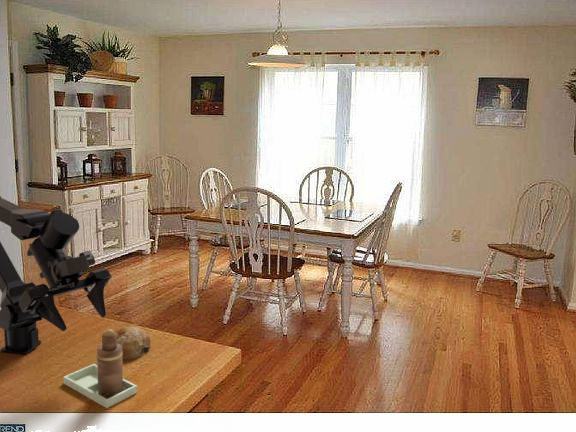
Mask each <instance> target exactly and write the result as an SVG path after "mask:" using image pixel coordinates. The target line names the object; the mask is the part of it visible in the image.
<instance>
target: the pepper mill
mask: <svg viewBox="0 0 576 432" xmlns="http://www.w3.org/2000/svg"><path fill="white" fill-rule="evenodd" d="M122 354H123V352H122V346H121V345H120V344H118V343H117V333H116V332H115V331H114V329H111V328H107V329H106V330H105V331H104V332H103V333H102V334H101V344H100V345H99V346H98V347H97V348H96V359H97V360H96V361H97V364H96V365H97V370H98V394H99V395H101V396H103V397H104V398H106V399H108V398H110V397H112V396H114V395H116V394H118V393H120V392H122V391H123V379H124V377H123V374H124V373H123V372H124V369H123V368H124V367H123V366H124V365H123V359H122Z"/></svg>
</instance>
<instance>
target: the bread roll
mask: <svg viewBox="0 0 576 432" xmlns="http://www.w3.org/2000/svg"><path fill="white" fill-rule="evenodd" d="M114 332H116V333H117V343H118V344H120V345H121V346H122V352H123V354H122V360H129V359H130V360H131V359H136V358H139V357H143V356H145V355H146V353H147V352H149V350H150V349H151V343H152V342H151V338H150V336H149V334H148V333H147V332H146V331H145V330H143V329H141V327H139V326H125V327H120V328H119V329H118V328H117V329H116V330H115V331H114Z"/></svg>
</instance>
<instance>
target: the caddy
mask: <svg viewBox="0 0 576 432" xmlns="http://www.w3.org/2000/svg"><path fill="white" fill-rule="evenodd" d="M63 384H64V385H65V386H68V387H69V388H70V389H73V390H74V391H76V392H78V393H79V394H82V395H83V396H85V397H87V398H88V399H90V400H91V401H94V402H95V403H97V404H98V405H101V406H102V407H104V408H106V409H109V408H110V407H112V406H114V405H116V404H118V403H120V402H121V401H125V400H126V399H127V398H130V397H132V396H133V395H135V394H138V385H136V384H134V383H133V382H131V381H129V380H127V379H126V378H123V391H122V392H120V393H118V394H116V395H114V396H112V397H110V398H108V399H106V398H104V397H103V396H101V395H99V394H98V370H97V364H96V363H92V364H90V365H87V366H85V367H83V368H80V369H78V370H77V371H73V372H72V373H69V374H66V375H65V376H63Z"/></svg>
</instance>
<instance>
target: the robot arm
mask: <svg viewBox="0 0 576 432" xmlns="http://www.w3.org/2000/svg"><path fill="white" fill-rule="evenodd" d="M0 222H1V223H3V224H5V225H7V226H9V227H10V233H12V234H13V236H15V237H16V238H17V239H18V240H20V241H27V240H32V239H33V241H32V243H31V242H30V243H29V244H28V249H27V251H26V253H27V257H34V260H35V262H36V263H37V266H38V267H39V270H40V271H41V272H40V273H39V277H40V279H45V281H46V283H47V284H48V285H47V284H46V283H41V284H37V285H36V284H35V283H34V282H32V281H31V282H28V283H26V282H24V281H23V279H21V276H20V274H19V272H18V270H17V269H16V267H15V266H14V263H13V262H12V260H11V258H10V257H9V254H8V253H7V251H6V249H5V247H4V246H3V244H2V242H1V241H0V291H1V299H0V328H1V329H2V330H3V333H4V334H3V335H4V336H3V337H4V346H3V347H1V348H0V352H3V353H4V352H5V353H11V354H12V353H13V354H21V355H26V354H29V353H30V352H31V351H32V350H34V349H35V348H36V347H38V346H39V345H41V344H42V340H39V328H38V327H37V322H40V321H43V319H44V320H45V321H48V322H49V323H50V324H52V325H53V326H55V327H56V328H58V329H59V330H61V331H62V332H65V331H66V330H67V325H66V323H65V320H64V319H63V317H62V315H61V314H60V311H59V310H58V308H57V306H56V304H55V298H54V297H57V296H61V295H65V294H68V293H72V292H75V291H79V290H84V292H86V293H87V294H86V298H87V299H88V301H89V302H90V303H91V305H92V306H93V307H94V309H95V310H96V312H97V314H98V315H99V316H100V317H101V318H105V317H106V314H107V313H106V305H105V298H104V297H105V295H104V292H105V287H106V286H107V285H108V283H109V281H110V280H111V279H112V278H113V276H112V274H111V272H110V270H109V269H107V268H104V267H103V268H99V269H95V270H92V271H90V272H89V273H88V274H87V276H86V277H85V278H82V276H83V275H84V273H83V272H84V271H89V270H91V266H93V265H95V264H96V260H95V256H94V254H93V253H92V252H91V250H86V251H82V252H80V253H79V254H78V256H76V257H73V256H71V255H66V253H65V252H64V250H63V249H66V248H67V247H68V245H69V244H70V243H71V241H72V240H73V239H74V237H75V235H76V234H77V233H78V231H79V230H80V223H79V221H78V219H77V218H75V217H74V216H72V215H71V214H69V213H65V212H63V210H62V208H57V209H51V211H50V213H49V212H47V210H44V209H38V208H37V209H36V208H34V209H33V208H31V209H30V208H24V207H22V206H20V205H18V204H15V203H13V202H11V201H9V200H7V199H5V198H3V197H2V196H1V195H0ZM79 278H82V279H79ZM48 286H49V287H48Z"/></svg>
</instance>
